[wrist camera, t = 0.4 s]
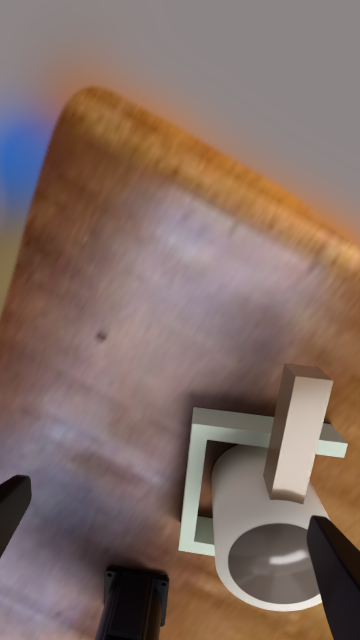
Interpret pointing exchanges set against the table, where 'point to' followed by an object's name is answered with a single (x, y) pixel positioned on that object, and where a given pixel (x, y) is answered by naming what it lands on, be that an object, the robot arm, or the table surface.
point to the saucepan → (273, 501)
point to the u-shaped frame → (233, 430)
